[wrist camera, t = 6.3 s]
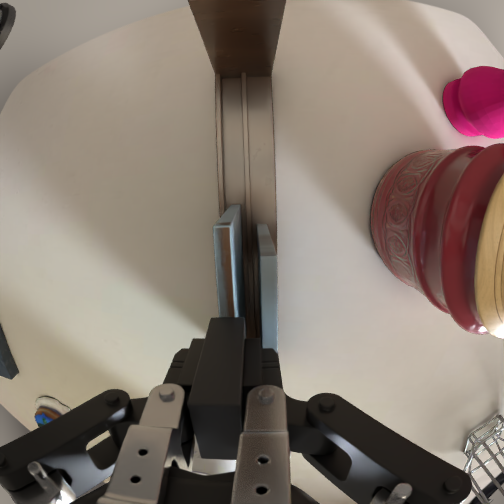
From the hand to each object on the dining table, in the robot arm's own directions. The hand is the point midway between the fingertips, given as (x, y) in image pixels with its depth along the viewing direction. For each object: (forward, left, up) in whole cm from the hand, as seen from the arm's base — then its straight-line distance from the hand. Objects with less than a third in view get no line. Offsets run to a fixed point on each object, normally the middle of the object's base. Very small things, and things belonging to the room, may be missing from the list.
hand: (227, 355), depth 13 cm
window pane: (0, 0, -12) cm, 12 cm away
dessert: (+23, -29, -14) cm, 39 cm away
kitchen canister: (-4, +18, -14) cm, 23 cm away
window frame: (-4, +1, -14) cm, 14 cm away
